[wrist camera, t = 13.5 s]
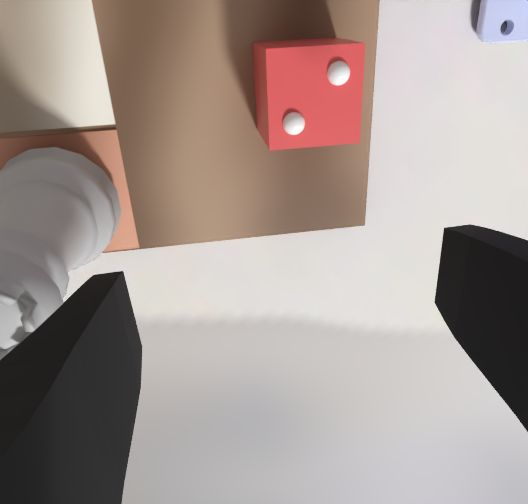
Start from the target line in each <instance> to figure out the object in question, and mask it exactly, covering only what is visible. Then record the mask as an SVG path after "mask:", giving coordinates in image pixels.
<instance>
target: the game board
mask: <svg viewBox="0 0 528 504" xmlns="http://www.w3.org/2000/svg"><path fill="white" fill-rule="evenodd" d="M379 1H380V0H0V170H1V169H2V168H3V167H4V166H5V164H6V163H7V161H8V160H10V159H12V158H14V157H16V156H18V155H19V154H21V153H23V152H25V151H27V150H29V149H38V148H50V147H57V148H61V149H64V150H68V151H71V152H75V153H78V154H82V155H83V156H85V157H86V158H87V159H89V160H90V161H92V162H93V163H94V164H96V165H97V166H99V167H100V168H101V169H103V170H104V172H105V173H106V175H107V176H108V177H109V179H110V180H111V182H112V183H113V185H114V186H115V188H116V189H117V192H118V197H119V202H120V207H121V216H120V220H119V224H118V228H117V232H116V233H115V234H114V235H113V237H112V241H111V242H110V243H109V245H108V246H107V247H106V248H105V250H104V251H103V252H102V253H107V252H116V251H126V250H135V249H145V248H154V247H164V246H173V245H183V244H192V243H202V242H211V241H221V240H230V239H240V238H249V237H259V236H268V235H278V234H287V233H297V232H306V231H316V230H325V229H334V228H344V227H353V226H363V225H365V213H366V198H367V183H368V168H369V152H370V137H371V122H372V107H373V92H374V77H375V61H376V46H377V31H378V16H379ZM335 37H337V38H342V39H348V40H353V41H358V42H364V43H365V60H364V78H363V96H362V114H361V132H360V143H354V144H342V145H330V146H319V147H307V148H295V149H283V150H271V151H270V150H269V149H268V147H267V145H266V144H265V142H264V140H263V139H262V137H261V135H260V134H259V132H258V130H257V119H256V99H255V80H254V60H253V42H266V41H283V40H300V39H317V38H335Z"/></svg>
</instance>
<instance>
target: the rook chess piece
mask: <svg viewBox="0 0 528 504" xmlns="http://www.w3.org/2000/svg"><path fill="white" fill-rule="evenodd" d="M120 216H121V207H120V202H119V197H118V192H117V189H116V188H115V186H114V185H113V183H112V182H111V180H110V179H109V177H108V176H107V175H106V173H105V172H104V170H103V169H101V168H100V167H99V166H97V165H96V164H94V163H93V162H92V161H90V160H89V159H87V158H86V157H85V156H83V155H82V154H78V153H75V152H71V151H68V150H64V149H61V148H57V147H50V148H38V149H29V150H27V151H25V152H23V153H21V154H19V155H18V156H16V157H14V158H12V159H10V160H8V161H7V163H6V164H5V166H4V167H3V168H2V169H1V170H0V360H1V359H2V358H3V357H4V356H5V355H7V354H8V353H9V352H10V351H11V350H12V349H14V348H15V347H16V346H17V345H18V344H19V343H20V342H22V341H23V340H24V339H25V338H26V337H27V336H29V335H30V334H31V333H32V332H33V331H34V330H36V329H37V328H38V327H39V326H40V325H41V324H42V323H43V322H44V321H45V320H46V319H47V318H48V317H49V316H51V315H52V314H53V313H54V312H55V311H56V310H57V309H58V308H59V307H60V306H61V305H62V304H63V299H62V298H63V297H64V296H65V295H66V291H67V286H68V281H69V276H68V271H70V270H74V269H77V268H79V267H81V266H83V265H85V264H87V263H89V262H91V261H93V260H95V259H96V258H98V257H99V256H100V254H101V253H102V252H103V251H104V250H105V248H106V247H107V246H108V245H109V243H110V242H111V241H112V237H113V235H114V234H115V233H116V232H117V228H118V224H119V220H120Z"/></svg>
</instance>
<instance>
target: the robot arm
mask: <svg viewBox="0 0 528 504" xmlns="http://www.w3.org/2000/svg"><path fill="white" fill-rule="evenodd" d="M505 20H506V22H507V29H506V31H505V32H504V33H503V34H502V33H501V31H500V28H501V25H502V23H503V22H504V21H505ZM477 36H478V39H480V40H481V41H482V42H487V43H499V42H515V41H528V0H481V4H480V10H479V16H478V23H477ZM435 304H436V306H437V308H438V309H439V311H440V313H441V315H442V317H443V319H444V321H445V322H446V324H447V326H448V327H449V329H450V331H451V332H452V334H453V336H454V337H455V339H456V340H457V341H458V343H459V344H460V345H461V346H462V348H463V349H464V350H465V352H466V353H467V354H468V356H469V357H470V358H471V359H472V361H473V362H474V363H475V364H476V366H477V367H478V368H479V370H480V371H481V372H482V373H483V375H484V376H485V377H486V378H487V380H488V381H489V382H490V383H491V385H492V386H493V387H494V388H495V390H496V391H497V392H498V393H499V395H500V396H501V397H502V398H503V400H504V401H505V402H506V403H507V405H508V406H509V407H510V409H511V410H512V411H513V412H514V414H515V415H516V416H517V418H518V419H519V420H520V422H521V423H522V424H523V426H524V427H525V428H526V430H527V431H528V240H525V239H522V238H518V237H515V236H512V235H509V234H506V233H502V232H499V231H495V230H492V229H488V228H484V227H480V226H475V225H463V226H456V227H448V228H444V234H443V242H442V249H441V257H440V265H439V273H438V281H437V289H436V296H435ZM141 365H142V345H141V341H140V337H139V333H138V329H137V325H136V321H135V317H134V313H133V309H132V305H131V301H130V297H129V293H128V289H127V285H126V281H125V277H124V273H123V271H120V272H113V273H105V274H98V275H93V276H92V277H91V278H90V279H88V280H87V281H86V282H85V283H84V284H83V285H82V286H81V287H80V288H79V289H78V290H77V291H76V292H74V293H73V294H72V295H71V296H70V297H69V298H68V299H67V300H66V301H65V302H64V303H63V304H62V305H61V306H60V307H59V308H58V309H57V310H56V311H55V312H54V313H53V314H52V315H51V316H49V317H48V318H47V319H46V320H45V321H44V322H43V323H42V324H41V325H40V326H39V327H38V328H37V329H36V330H34V331H33V332H32V333H31V334H30V335H29V336H27V337H26V338H25V339H24V340H23V341H22V342H20V343H19V344H18V345H17V346H16V347H15V348H14V349H12V350H11V351H10V352H9V353H8V354H7V355H5V356H4V357H3V358H2V359H1V360H0V504H121V502H122V494H123V487H124V480H125V475H126V469H127V463H128V457H129V452H130V446H131V441H132V435H133V429H134V423H135V418H136V411H137V406H138V400H139V394H140V388H141V367H142V366H141Z"/></svg>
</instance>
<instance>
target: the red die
mask: <svg viewBox="0 0 528 504" xmlns="http://www.w3.org/2000/svg"><path fill="white" fill-rule="evenodd" d="M253 60H254V80H255V99H256V119H257V130H258V132H259V134H260V135H261V137H262V139H263V140H264V142H265V144H266V145H267V147H268V149H269V150H270V151H271V150H283V149H295V148H307V147H319V146H330V145H342V144H354V143H360V132H361V114H362V96H363V78H364V60H365V43H364V42H358V41H353V40H348V39H342V38H337V37H335V38H317V39H300V40H283V41H266V42H253Z"/></svg>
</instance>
